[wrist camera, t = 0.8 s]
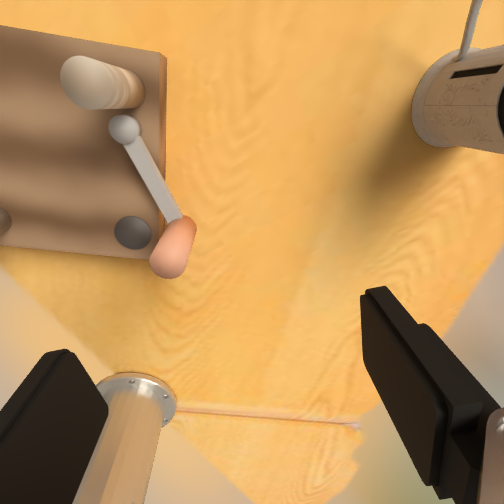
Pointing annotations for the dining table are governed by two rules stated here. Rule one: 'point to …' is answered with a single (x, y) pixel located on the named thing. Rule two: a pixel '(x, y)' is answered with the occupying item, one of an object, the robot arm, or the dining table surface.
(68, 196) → the wooden peg board
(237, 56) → the dining table surface
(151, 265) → the crank handle
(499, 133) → the grey cylinder with loop
